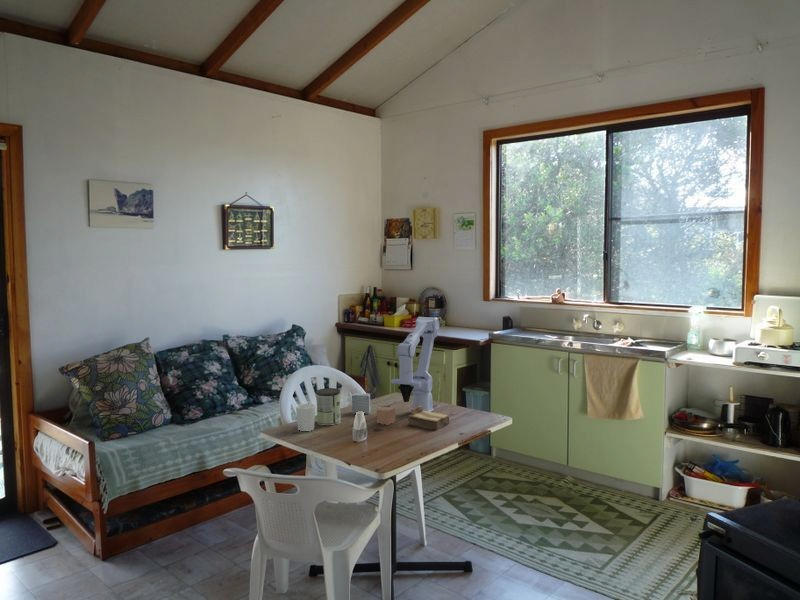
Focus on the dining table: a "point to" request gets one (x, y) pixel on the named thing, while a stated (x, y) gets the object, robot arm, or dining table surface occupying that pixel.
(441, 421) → the walnut box
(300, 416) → the white cup
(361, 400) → the medicine box
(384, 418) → the tan cardboard cube
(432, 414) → the lid
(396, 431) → the dining table surface
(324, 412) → the coffee can
